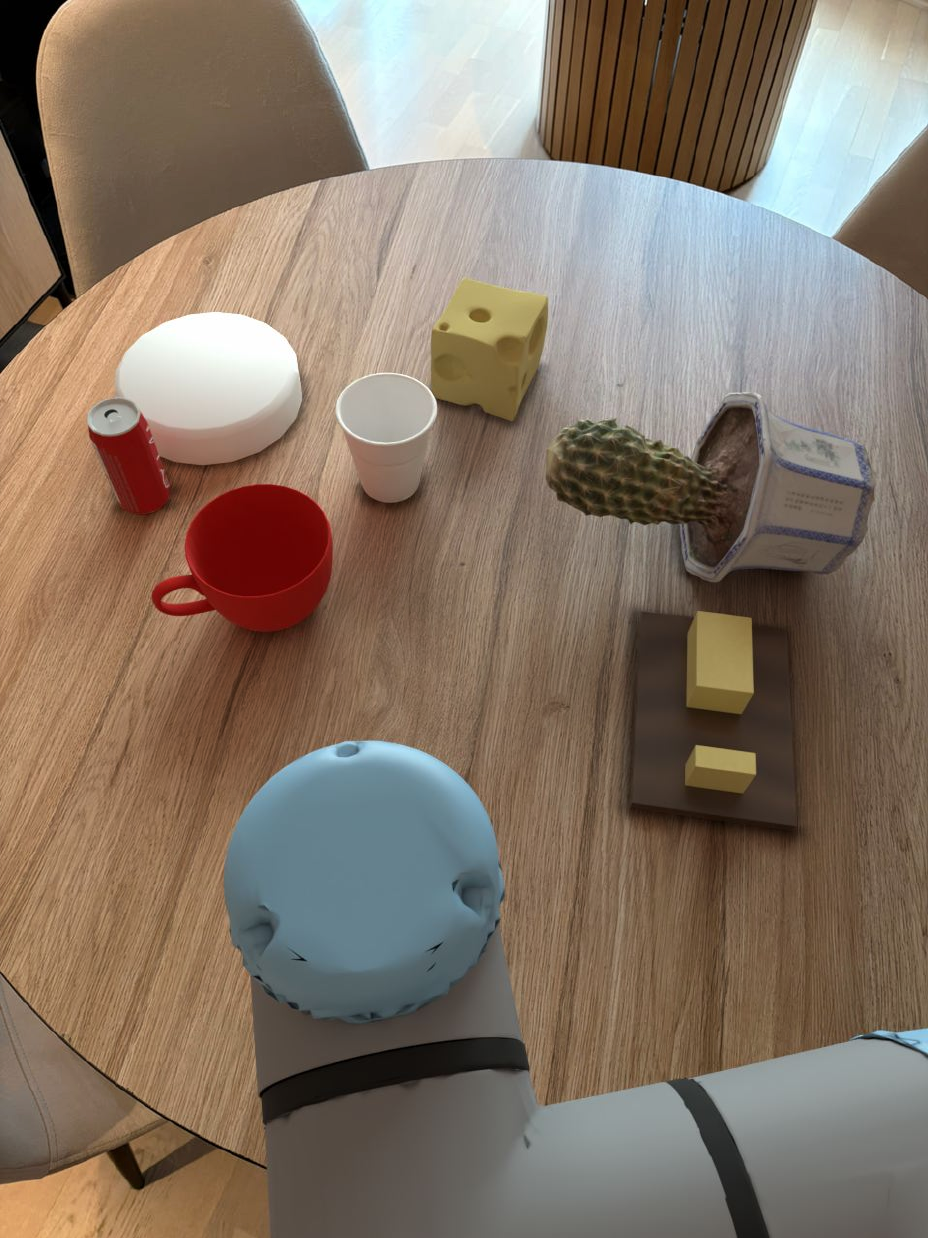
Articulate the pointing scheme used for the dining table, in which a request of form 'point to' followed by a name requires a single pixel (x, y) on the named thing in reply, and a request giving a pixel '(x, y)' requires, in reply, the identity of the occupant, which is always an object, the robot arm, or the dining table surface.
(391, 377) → the cup
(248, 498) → the ceramic cup
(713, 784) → the block
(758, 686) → the board
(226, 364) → the container
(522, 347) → the cheese
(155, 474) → the soda can
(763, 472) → the potted plant
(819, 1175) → the robot arm
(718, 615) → the butter block
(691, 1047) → the dining table surface
